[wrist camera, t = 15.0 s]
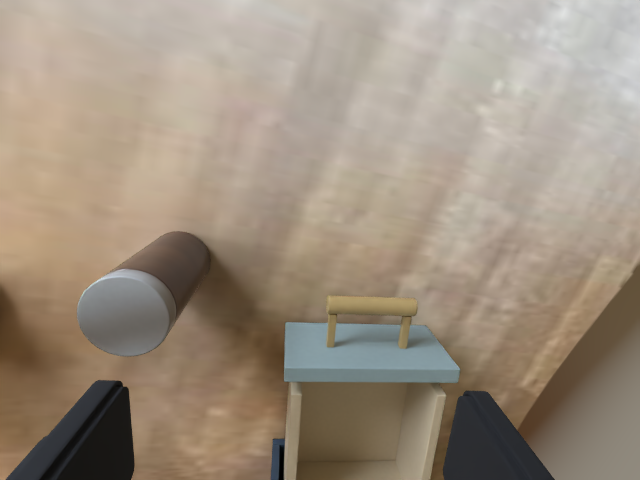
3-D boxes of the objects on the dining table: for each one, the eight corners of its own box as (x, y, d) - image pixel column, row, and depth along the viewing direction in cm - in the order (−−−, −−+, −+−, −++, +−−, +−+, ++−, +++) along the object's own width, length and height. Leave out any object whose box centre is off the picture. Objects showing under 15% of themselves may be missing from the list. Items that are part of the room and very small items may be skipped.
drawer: (287, 276, 30) (287, 312, 23) (433, 282, 31) (471, 317, 25) (277, 459, 35) (275, 530, 28) (404, 457, 36) (429, 524, 30)
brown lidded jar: (139, 244, 29) (57, 296, 19) (194, 222, 29) (143, 262, 19) (167, 295, 30) (106, 369, 20) (220, 274, 30) (185, 338, 20)
